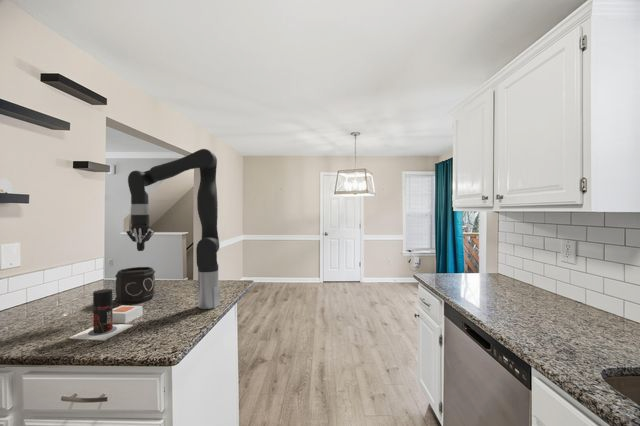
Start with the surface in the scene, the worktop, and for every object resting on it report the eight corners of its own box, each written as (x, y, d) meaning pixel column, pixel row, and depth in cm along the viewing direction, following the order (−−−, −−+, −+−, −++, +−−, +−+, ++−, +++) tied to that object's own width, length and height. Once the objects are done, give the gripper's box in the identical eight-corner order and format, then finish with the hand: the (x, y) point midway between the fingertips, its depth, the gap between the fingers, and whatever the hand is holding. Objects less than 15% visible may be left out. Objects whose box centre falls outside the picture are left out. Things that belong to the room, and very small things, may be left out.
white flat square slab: (133, 325, 122) (133, 324, 122) (104, 340, 108) (104, 339, 108) (101, 324, 123) (101, 323, 123) (69, 338, 109) (69, 337, 109)
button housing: (142, 315, 134) (142, 306, 134) (125, 323, 124) (125, 313, 124) (121, 314, 135) (121, 305, 135) (103, 322, 125) (103, 312, 125)
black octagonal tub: (163, 297, 161) (163, 268, 161) (127, 306, 146) (126, 274, 146) (145, 293, 171) (145, 265, 171) (109, 301, 156) (109, 270, 156)
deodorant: (99, 327, 118) (99, 289, 118) (115, 327, 119) (115, 288, 119) (89, 333, 112) (89, 293, 112) (106, 333, 113) (106, 293, 113)
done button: (133, 313, 132) (133, 306, 132) (124, 317, 127) (124, 310, 127) (122, 313, 133) (122, 306, 133) (113, 317, 128) (113, 310, 128)
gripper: (158, 213, 146) (159, 249, 146) (132, 214, 147) (133, 249, 147) (148, 213, 138) (148, 251, 138) (121, 214, 139) (121, 251, 140)
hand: (140, 250), depth 143 cm, fingers closed
